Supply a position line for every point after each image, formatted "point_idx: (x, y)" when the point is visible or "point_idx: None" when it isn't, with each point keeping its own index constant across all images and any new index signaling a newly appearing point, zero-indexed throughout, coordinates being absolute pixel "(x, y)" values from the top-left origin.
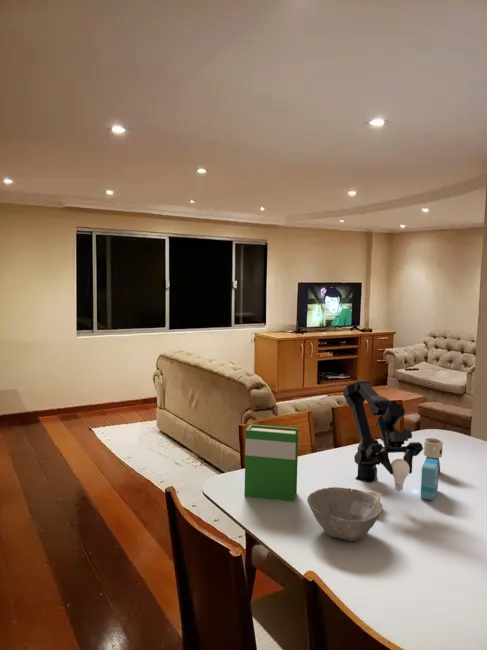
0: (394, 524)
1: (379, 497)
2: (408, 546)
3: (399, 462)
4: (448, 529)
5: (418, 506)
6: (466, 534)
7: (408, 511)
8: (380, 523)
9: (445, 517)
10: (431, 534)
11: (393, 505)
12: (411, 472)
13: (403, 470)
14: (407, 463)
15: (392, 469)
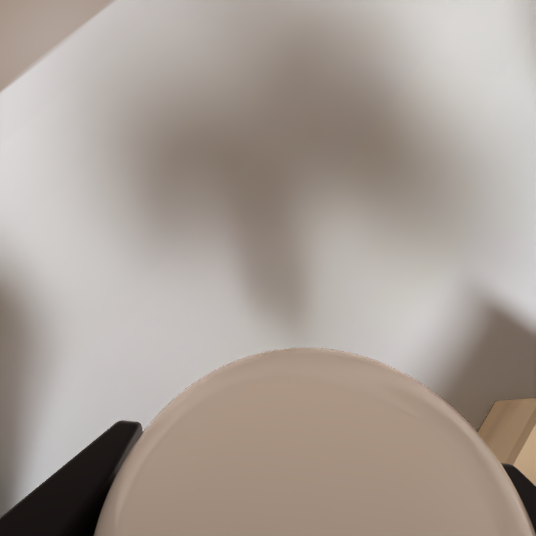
0: (433, 255)
1: None
2: (468, 50)
3: (431, 488)
4: (156, 139)
5: None
6: (105, 81)
7: None
8: (518, 286)
9: (59, 262)
10: (284, 116)
11: None
12: (128, 422)
13: (343, 353)
14: (157, 473)
15: None
